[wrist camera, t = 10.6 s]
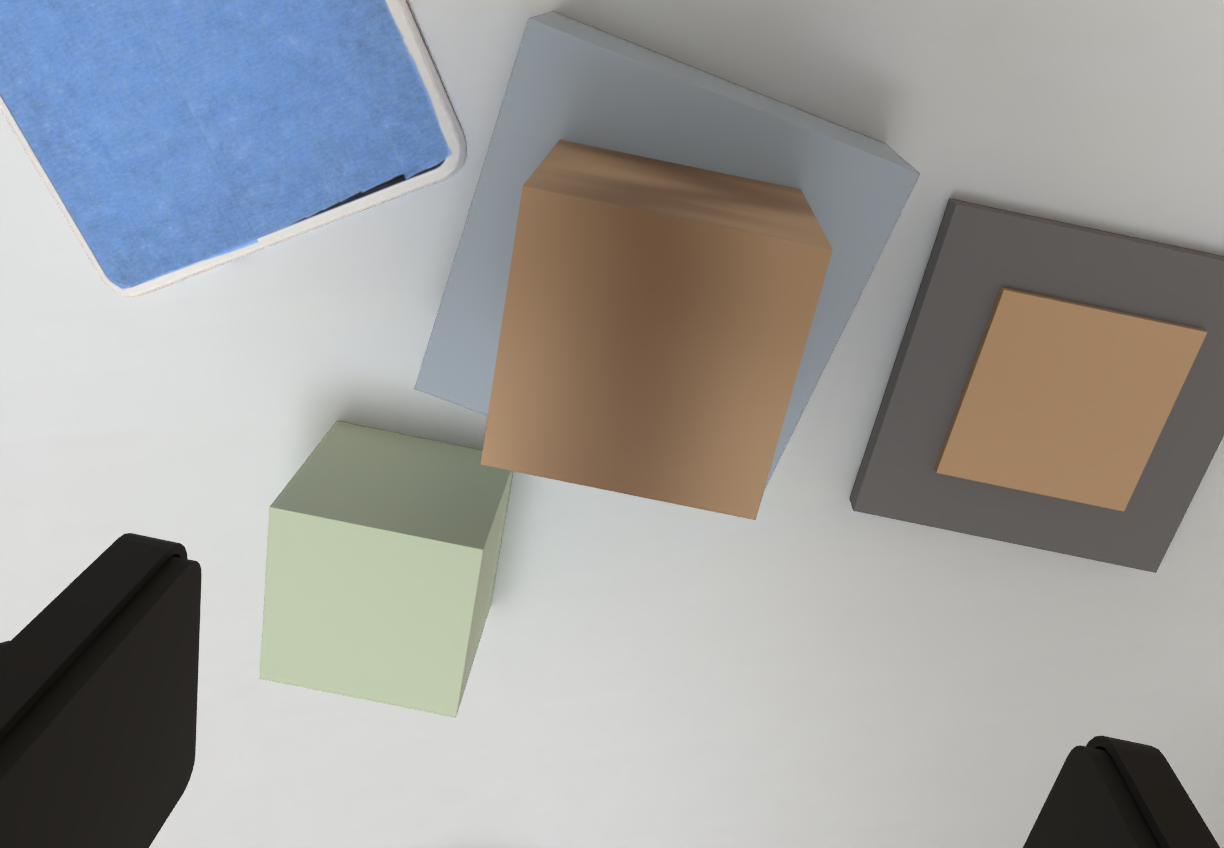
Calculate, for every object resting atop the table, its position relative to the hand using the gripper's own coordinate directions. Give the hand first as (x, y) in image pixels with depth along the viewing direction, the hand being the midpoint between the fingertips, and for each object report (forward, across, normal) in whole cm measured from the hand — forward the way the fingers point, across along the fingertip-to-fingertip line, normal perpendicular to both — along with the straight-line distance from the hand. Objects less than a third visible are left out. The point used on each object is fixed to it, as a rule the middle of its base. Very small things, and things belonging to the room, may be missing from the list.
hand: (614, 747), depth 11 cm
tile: (+22, -13, +2) cm, 25 cm away
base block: (+22, 0, 0) cm, 22 cm away
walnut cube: (+17, 0, 0) cm, 17 cm away
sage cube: (+22, +6, +11) cm, 25 cm away
